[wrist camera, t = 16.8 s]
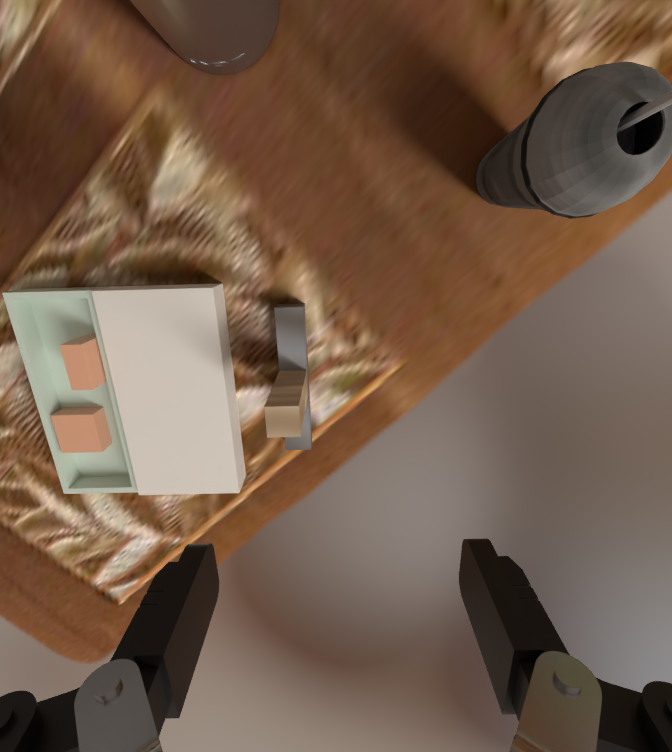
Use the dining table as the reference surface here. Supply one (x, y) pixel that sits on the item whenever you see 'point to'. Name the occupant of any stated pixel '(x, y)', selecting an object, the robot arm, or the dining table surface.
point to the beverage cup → (584, 144)
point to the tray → (52, 387)
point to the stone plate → (174, 386)
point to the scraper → (290, 381)
